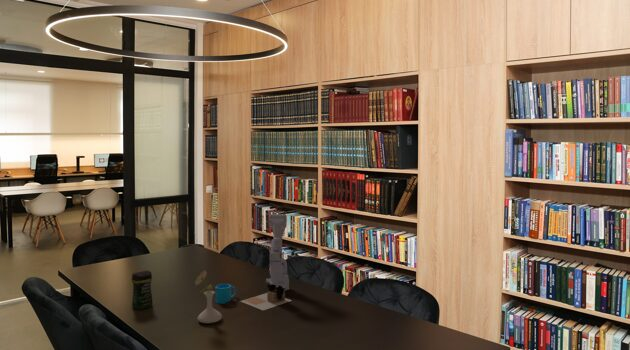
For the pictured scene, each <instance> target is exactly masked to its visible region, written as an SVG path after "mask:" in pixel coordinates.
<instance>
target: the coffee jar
mask: <svg viewBox="0 0 630 350" xmlns="http://www.w3.org/2000/svg"><path fill="white" fill-rule="evenodd" d="M131 275H132V276H131V283H132V287H133V288H132V290H133V291H132V300H131V301H132V302H131V307H132V308H133V309H134V310H143V309H148V308H150V307H152V306H153V295H152V280H153V275H152V272H151V271H150V270H142V271H138V272H133V273H132V274H131Z"/></svg>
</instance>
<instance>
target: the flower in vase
mask: <svg viewBox="0 0 630 350" xmlns="http://www.w3.org/2000/svg"><path fill="white" fill-rule="evenodd" d="M207 273H208V272H207V271H206V270H203V271H201V272H200V274H199V275H198V276H197V277H196V279H195V281H194V285H195V286H199V285H200V284H201V283H202V282H203V283H204V286H205V287H203V288H202V289H201V290H200V291H199V293H200V294H201V293H203V294H204V295H205V297H206V307H205V309H204V310H203V311H202V312H201V313H200V314H199V315H198V316H197V321H198V322H200V323H202V324H214V323H217V322H219V321H221V320H222V318H223V315H222V314H221V312H220V311H218V310H216V309H215V308H214V307H213V297H214V294H216V291H214V290H213V283H210V284H209V285H207V284H206V282H205V278H206V276H207Z"/></svg>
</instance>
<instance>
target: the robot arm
mask: <svg viewBox="0 0 630 350" xmlns="http://www.w3.org/2000/svg"><path fill="white" fill-rule="evenodd" d="M268 222H269V223H268V224H269V227H270V229H272V230H273V231H272V232H273V239H271V243H270V252H269V271H268V272H269V275H270V277H269V278H266V279H265V282H266V283H267V284H266V288H267V290H268V292H269V291H273V290H276V291H277V298H278V300H281V299H282V295H283V292H284V291H285V292H286V291H288V290H290V278H289V275H288V263H287V259H285V258H283V230H284V229H287V225H288V224H287V223H288V215H287V214H286V213H284V214H283V213H281V214H280V213H278V214H277V213H275V214H274V213H273V214H272V213H270V214H269V217H268Z"/></svg>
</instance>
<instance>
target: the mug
mask: <svg viewBox="0 0 630 350" xmlns="http://www.w3.org/2000/svg"><path fill="white" fill-rule="evenodd" d="M232 289H233V290H234V291H233V292H234V293H233V294H232ZM236 294H237V288H236V287H235V286H234V285H231V284H230V283H219V284H216V286H215V303H217V304H219V305H220V304H221V305H223V304H224V305H225V304H228V302H231V300H232V299H233V298H234V297H235V296H236Z"/></svg>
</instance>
